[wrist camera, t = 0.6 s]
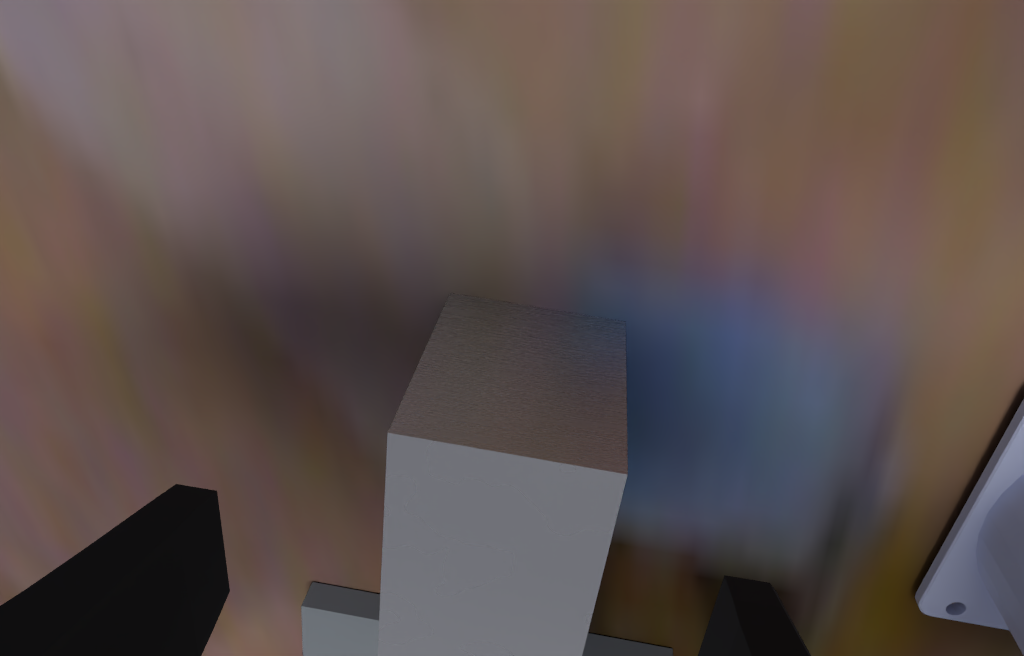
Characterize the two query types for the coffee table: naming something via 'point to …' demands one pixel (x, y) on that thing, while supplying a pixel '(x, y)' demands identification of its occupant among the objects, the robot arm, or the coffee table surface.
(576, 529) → the block
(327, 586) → the display stand
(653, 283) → the coffee table surface
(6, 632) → the robot arm
